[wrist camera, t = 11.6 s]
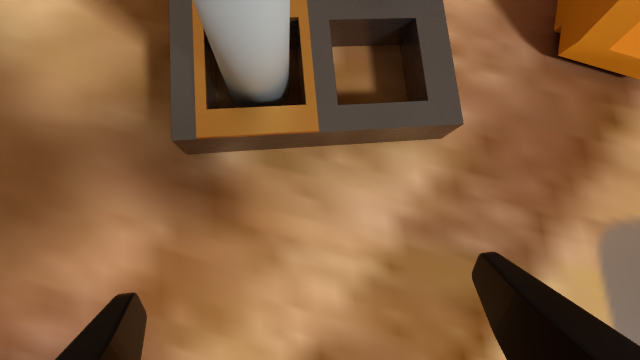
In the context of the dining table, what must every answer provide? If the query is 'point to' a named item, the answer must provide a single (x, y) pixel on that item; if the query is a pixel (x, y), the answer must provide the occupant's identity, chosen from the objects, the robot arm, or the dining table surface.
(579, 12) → the bracket
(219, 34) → the peg
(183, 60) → the grey boxy holed piece
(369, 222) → the dining table surface
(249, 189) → the dining table surface
